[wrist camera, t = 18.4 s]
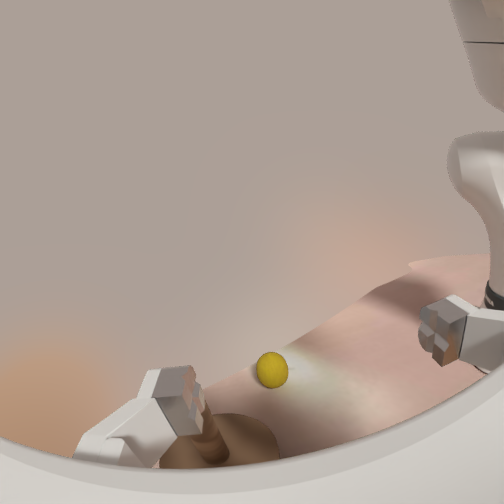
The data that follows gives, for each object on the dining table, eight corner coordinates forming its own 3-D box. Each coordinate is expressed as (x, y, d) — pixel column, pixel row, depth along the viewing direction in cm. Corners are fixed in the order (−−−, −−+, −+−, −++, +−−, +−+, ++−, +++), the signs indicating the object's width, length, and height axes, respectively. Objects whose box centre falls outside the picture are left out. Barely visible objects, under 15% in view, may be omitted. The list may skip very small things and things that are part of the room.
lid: (220, 404, 40) (198, 344, 37) (304, 444, 29) (293, 382, 26) (142, 459, 29) (101, 403, 26) (216, 528, 18) (171, 486, 15)
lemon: (256, 384, 49) (247, 351, 47) (282, 373, 51) (276, 340, 49) (268, 401, 44) (259, 367, 42) (296, 388, 46) (290, 354, 44)
